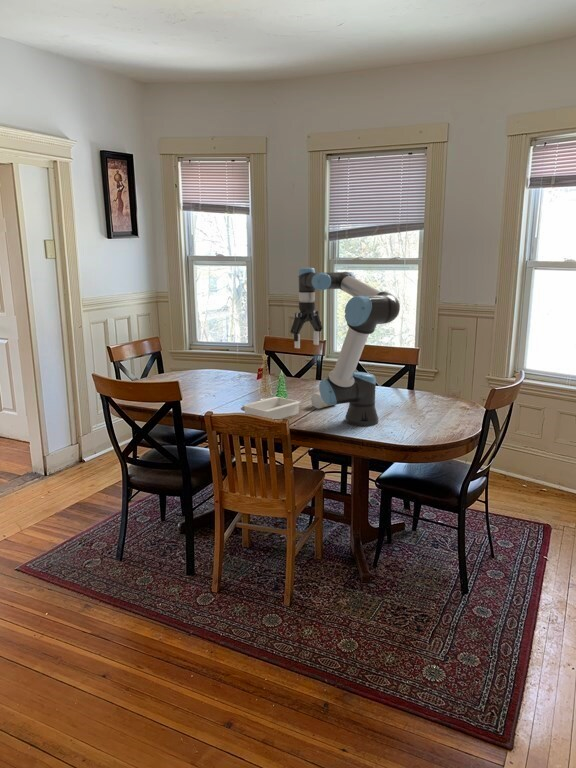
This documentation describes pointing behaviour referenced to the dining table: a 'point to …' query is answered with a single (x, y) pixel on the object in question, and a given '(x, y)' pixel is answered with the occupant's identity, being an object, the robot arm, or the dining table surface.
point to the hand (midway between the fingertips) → (306, 346)
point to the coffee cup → (318, 401)
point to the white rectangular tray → (273, 408)
